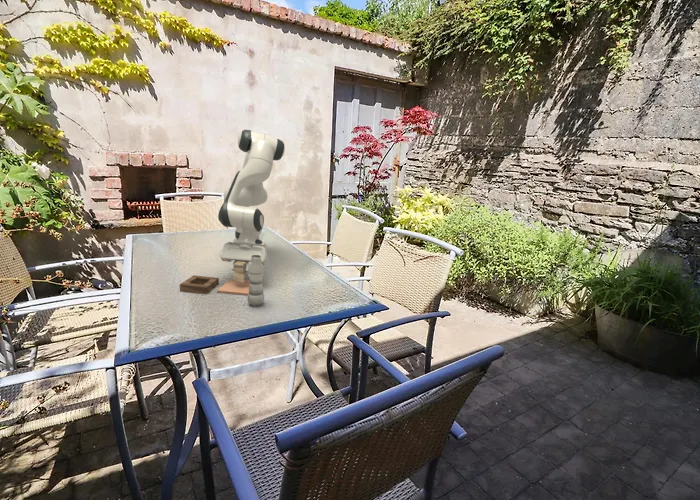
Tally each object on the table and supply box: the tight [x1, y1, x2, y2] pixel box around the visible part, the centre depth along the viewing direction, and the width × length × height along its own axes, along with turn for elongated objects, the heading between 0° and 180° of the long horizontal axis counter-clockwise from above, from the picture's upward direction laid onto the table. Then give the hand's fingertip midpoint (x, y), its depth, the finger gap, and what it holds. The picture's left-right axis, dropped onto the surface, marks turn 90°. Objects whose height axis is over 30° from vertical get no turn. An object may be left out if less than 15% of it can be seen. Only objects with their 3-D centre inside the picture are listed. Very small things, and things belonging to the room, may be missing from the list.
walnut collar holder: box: [179, 275, 220, 295], centre depth 151 cm, size 12×12×3 cm
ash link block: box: [233, 261, 248, 282], centre depth 152 cm, size 4×4×8 cm
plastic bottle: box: [247, 255, 265, 307], centre depth 138 cm, size 6×7×20 cm
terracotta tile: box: [216, 278, 249, 297], centre depth 154 cm, size 14×14×1 cm
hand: (239, 271), depth 152 cm, fingers closed on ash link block, 4 cm apart
